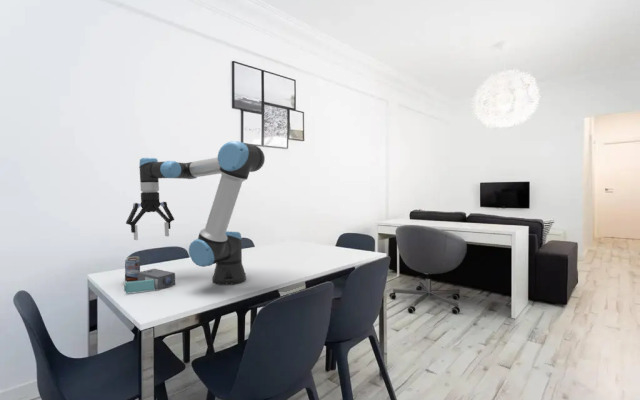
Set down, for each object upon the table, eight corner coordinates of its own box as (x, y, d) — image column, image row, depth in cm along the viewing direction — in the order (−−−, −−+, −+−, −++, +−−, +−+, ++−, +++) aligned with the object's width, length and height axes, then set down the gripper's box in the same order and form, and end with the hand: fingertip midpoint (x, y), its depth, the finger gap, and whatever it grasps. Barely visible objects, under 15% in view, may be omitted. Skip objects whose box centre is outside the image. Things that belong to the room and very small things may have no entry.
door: (158, 288, 142) (157, 278, 141) (157, 289, 140) (157, 279, 140) (125, 292, 137) (124, 282, 137) (124, 293, 135) (124, 283, 135)
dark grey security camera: (176, 285, 148) (176, 272, 147) (159, 290, 141) (159, 276, 141) (154, 280, 157) (154, 267, 157) (137, 284, 150) (137, 271, 150)
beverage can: (124, 284, 150) (123, 258, 149) (126, 280, 156) (125, 255, 156) (139, 283, 152) (138, 257, 152) (141, 279, 159) (140, 254, 158)
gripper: (173, 191, 163) (175, 234, 164) (116, 192, 145) (118, 240, 146) (180, 191, 158) (182, 235, 159) (122, 192, 140) (124, 242, 141)
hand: (151, 238), depth 152 cm, fingers open, 13 cm apart
